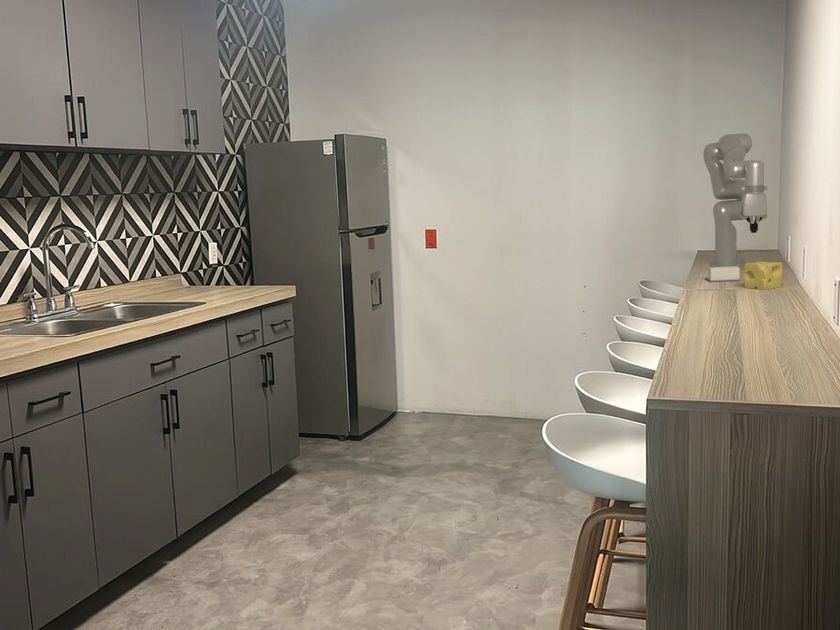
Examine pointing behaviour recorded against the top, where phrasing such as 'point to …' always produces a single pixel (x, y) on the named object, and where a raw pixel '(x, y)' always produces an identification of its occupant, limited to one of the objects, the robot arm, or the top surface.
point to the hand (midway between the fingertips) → (753, 232)
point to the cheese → (763, 275)
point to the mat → (720, 280)
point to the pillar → (724, 273)
